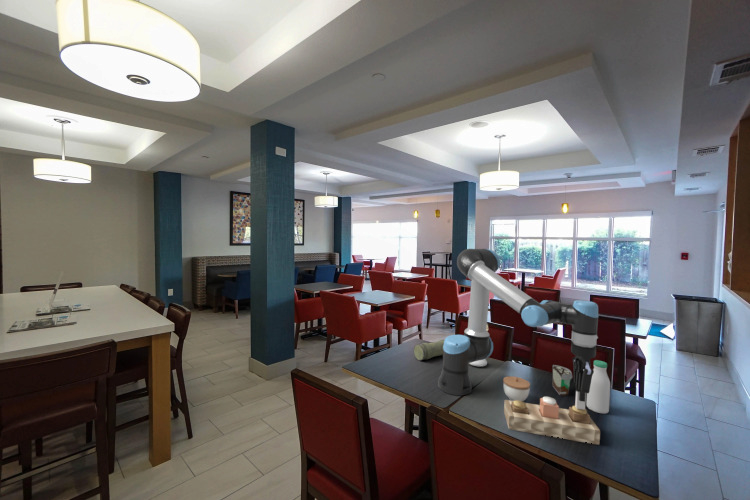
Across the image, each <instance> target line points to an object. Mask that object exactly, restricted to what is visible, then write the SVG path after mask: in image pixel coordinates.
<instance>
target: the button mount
mask: <svg viewBox="0 0 750 500" xmlns="http://www.w3.org/2000/svg"><path fill="white" fill-rule="evenodd" d="M512 402H514V401H511V400H510V399H504V406H503V413H504V417H505V420H506V424H507V428H508V430H513V431H518V432H523V433H530V434H535V435H541V436H545V435H546V437H551V436H553V437H552V438H557V437H559V438H558V439H562V438H563V439H565V440H569V441H574V442H581V443H585V442H587V443H586V444H591V443H592V445H598V446H600V440H601V429H600V428H599V427H598V426H597V424H596V423H595V422H594V421H593V419H592V417H590V424H583V423H577V422H573V421H572V420H571V418H570V417H569V408H568V409H567V408H561V407H559V413H558V419H552V418H546V417H542V415H541V413H540V404H534V403H529V402H525V403H526V406H527V408H528V414H522V413H515V412H513V411H512V408H511V404H512Z"/></svg>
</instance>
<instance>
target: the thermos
mask: <svg viewBox="0 0 750 500" xmlns="http://www.w3.org/2000/svg"><path fill="white" fill-rule="evenodd" d="M444 340H445V338H443V339H439V340H437V341H434V342H422V343H418V344H416V345H414V347H413V354H414V357H415V358H416V360H418V361H425V360H429V359H431V358H433V357H438V356H443V345H444Z"/></svg>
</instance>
